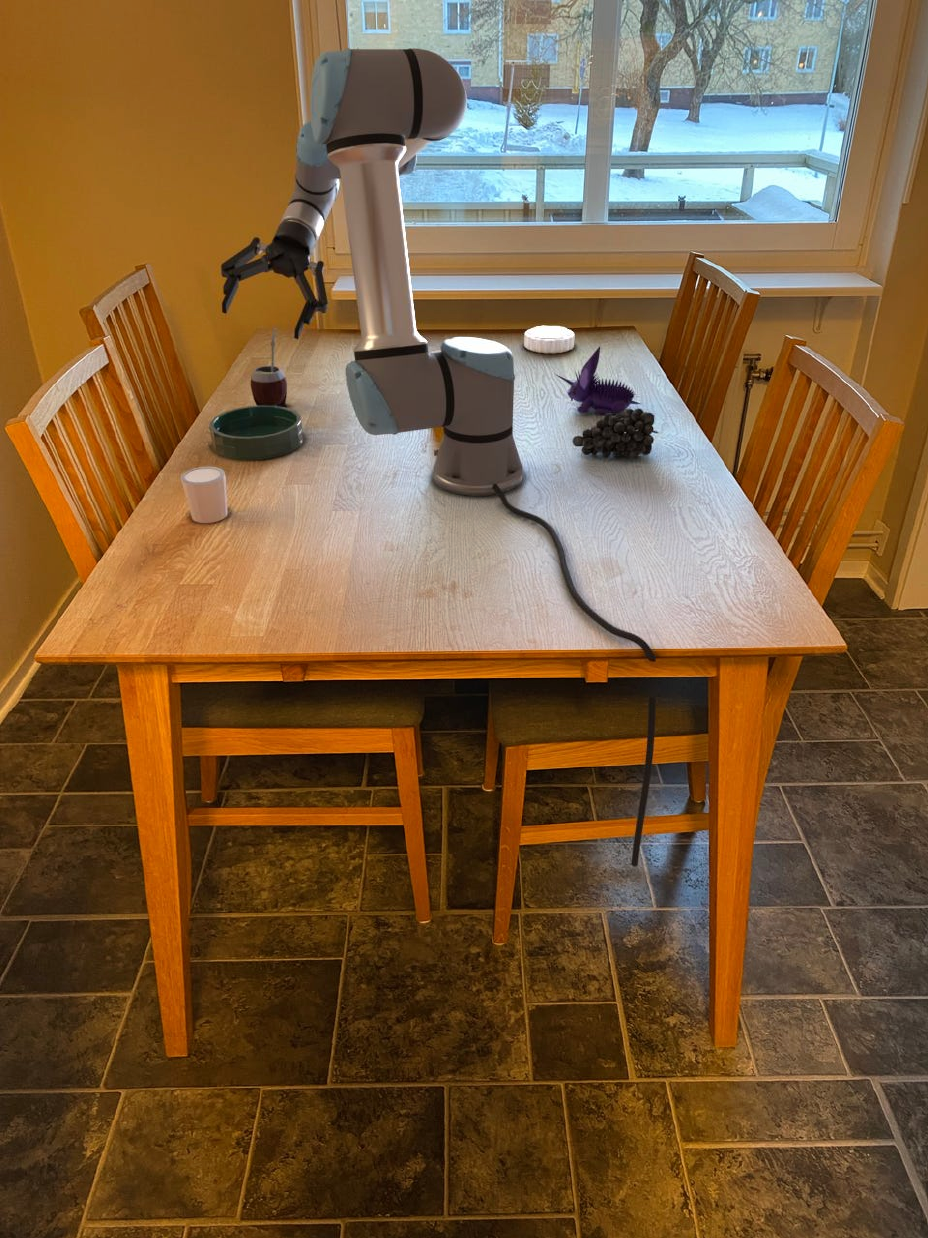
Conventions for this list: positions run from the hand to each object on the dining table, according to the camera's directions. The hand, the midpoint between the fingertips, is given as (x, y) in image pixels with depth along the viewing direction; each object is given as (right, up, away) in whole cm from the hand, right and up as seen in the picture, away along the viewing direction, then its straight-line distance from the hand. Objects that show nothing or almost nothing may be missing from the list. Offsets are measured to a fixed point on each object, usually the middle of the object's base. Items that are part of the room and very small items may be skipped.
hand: (260, 321), depth 169 cm
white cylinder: (-4, -38, -20) cm, 43 cm away
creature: (+64, -12, +18) cm, 67 cm away
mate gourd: (-2, -11, +20) cm, 23 cm away
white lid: (+57, +11, +54) cm, 80 cm away
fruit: (+64, -24, -1) cm, 69 cm away
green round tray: (-1, -21, +5) cm, 22 cm away
